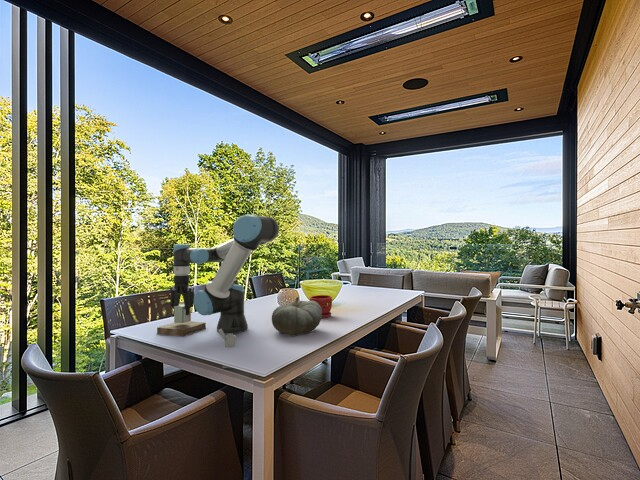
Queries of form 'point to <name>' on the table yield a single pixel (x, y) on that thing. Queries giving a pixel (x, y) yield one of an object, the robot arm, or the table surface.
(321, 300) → the plant pot
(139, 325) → the table surface
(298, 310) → the gourd
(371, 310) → the table surface
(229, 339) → the lighter
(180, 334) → the walnut base
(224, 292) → the robot arm
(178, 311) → the sage pillar block
